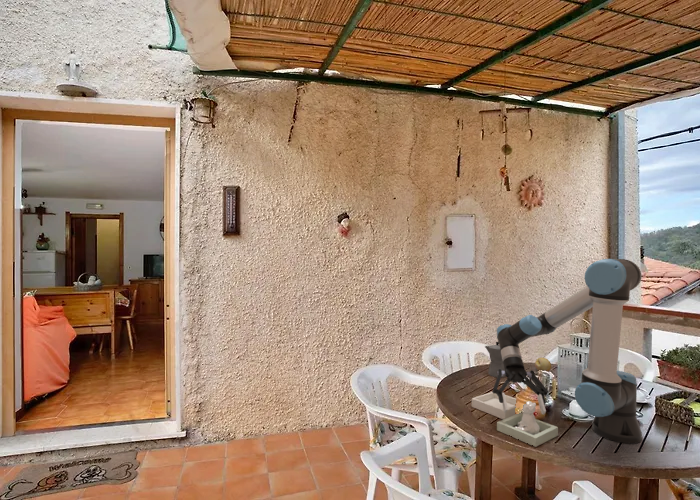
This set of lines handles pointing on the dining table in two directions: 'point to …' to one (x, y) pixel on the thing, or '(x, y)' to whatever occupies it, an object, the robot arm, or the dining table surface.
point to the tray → (494, 405)
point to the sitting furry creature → (528, 419)
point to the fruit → (543, 364)
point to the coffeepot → (495, 360)
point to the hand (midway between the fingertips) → (524, 412)
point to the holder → (535, 440)
